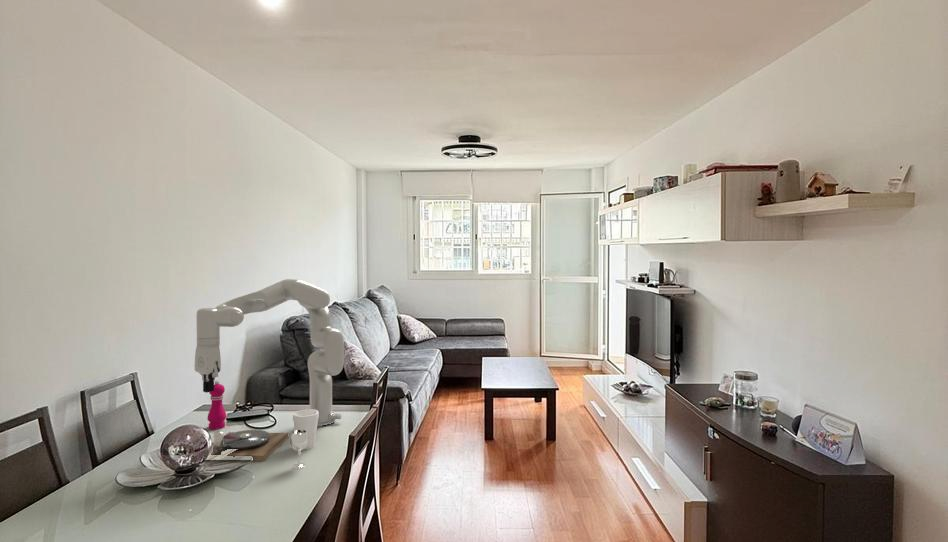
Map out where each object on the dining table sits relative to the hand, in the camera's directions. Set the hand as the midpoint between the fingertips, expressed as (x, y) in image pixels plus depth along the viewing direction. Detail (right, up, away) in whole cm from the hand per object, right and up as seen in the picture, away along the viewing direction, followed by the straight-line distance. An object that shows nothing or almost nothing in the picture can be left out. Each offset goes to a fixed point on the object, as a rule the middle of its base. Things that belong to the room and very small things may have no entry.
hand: (208, 391), depth 189 cm
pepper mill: (-12, -23, +30) cm, 39 cm away
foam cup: (+33, -24, +9) cm, 41 cm away
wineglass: (+37, -24, -10) cm, 45 cm away
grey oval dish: (+10, -20, +4) cm, 23 cm away
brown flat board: (+11, -23, +6) cm, 26 cm away
